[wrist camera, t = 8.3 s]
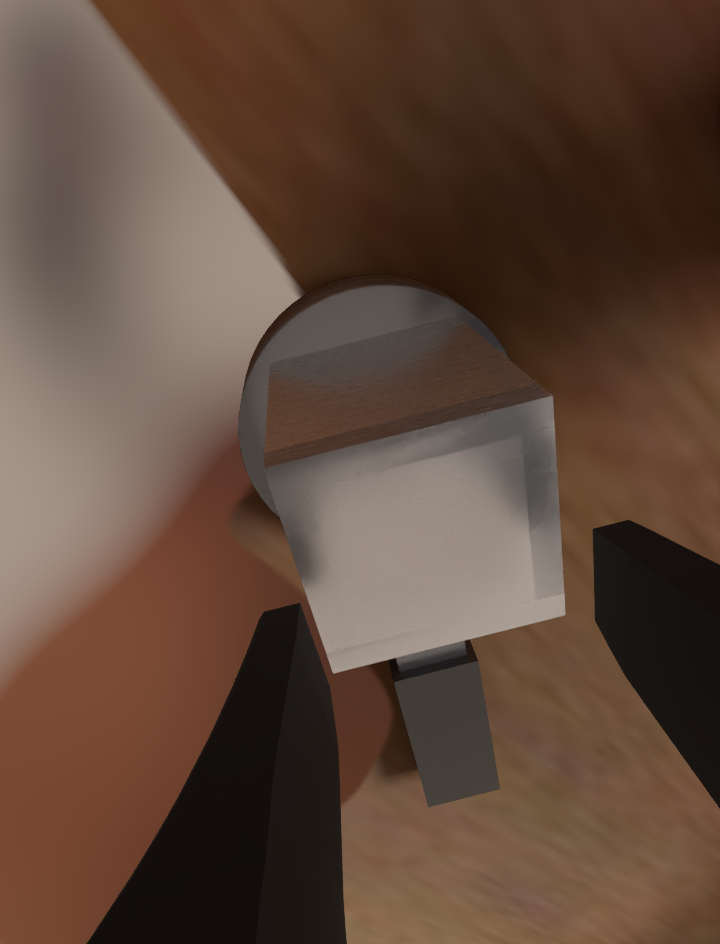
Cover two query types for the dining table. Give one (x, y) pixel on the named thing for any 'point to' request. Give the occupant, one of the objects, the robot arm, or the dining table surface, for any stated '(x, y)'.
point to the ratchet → (292, 334)
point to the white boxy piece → (415, 491)
